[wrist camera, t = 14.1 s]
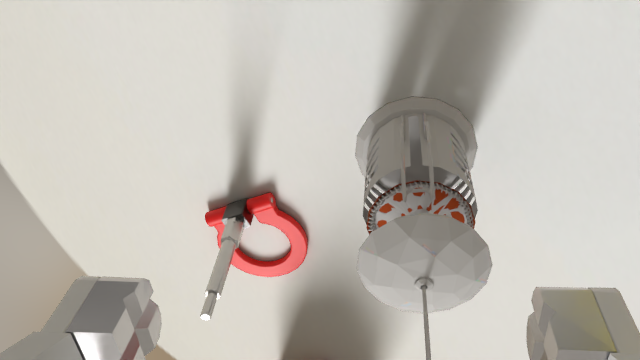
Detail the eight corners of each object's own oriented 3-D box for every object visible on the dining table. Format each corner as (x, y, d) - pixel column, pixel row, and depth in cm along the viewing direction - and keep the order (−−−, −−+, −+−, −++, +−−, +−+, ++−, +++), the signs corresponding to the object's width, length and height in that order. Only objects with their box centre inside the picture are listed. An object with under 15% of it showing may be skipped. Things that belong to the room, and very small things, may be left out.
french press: (361, 203, 49) (338, 494, 28) (345, 80, 43) (302, 340, 22) (476, 197, 47) (542, 501, 27) (478, 68, 41) (566, 337, 20)
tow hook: (322, 256, 54) (279, 184, 49) (307, 374, 43) (250, 297, 38) (247, 276, 56) (198, 210, 51) (215, 392, 46) (152, 322, 41)
